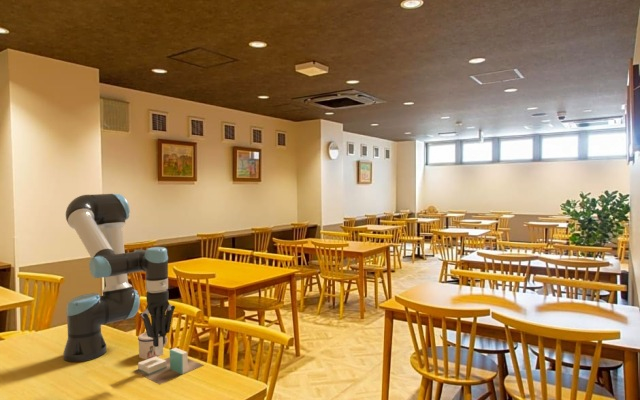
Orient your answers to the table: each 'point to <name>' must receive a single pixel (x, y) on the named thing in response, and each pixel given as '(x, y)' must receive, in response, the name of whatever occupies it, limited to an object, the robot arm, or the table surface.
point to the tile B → (178, 360)
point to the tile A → (152, 365)
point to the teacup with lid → (147, 346)
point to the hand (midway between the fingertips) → (159, 354)
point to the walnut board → (168, 372)
